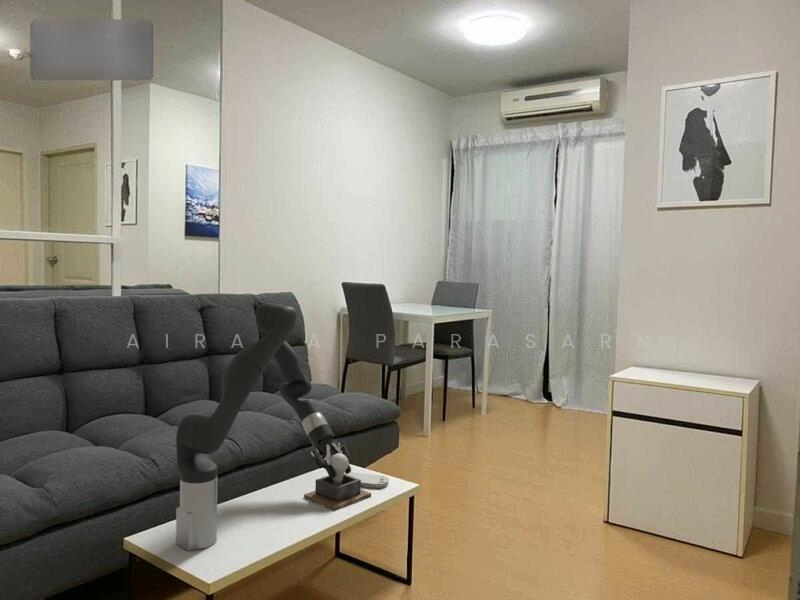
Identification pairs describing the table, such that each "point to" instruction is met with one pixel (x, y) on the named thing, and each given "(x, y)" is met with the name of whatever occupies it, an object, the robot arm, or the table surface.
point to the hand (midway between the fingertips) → (341, 474)
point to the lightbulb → (339, 467)
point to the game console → (370, 480)
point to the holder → (337, 492)
